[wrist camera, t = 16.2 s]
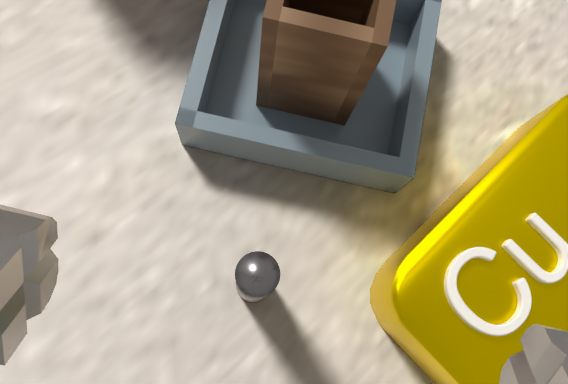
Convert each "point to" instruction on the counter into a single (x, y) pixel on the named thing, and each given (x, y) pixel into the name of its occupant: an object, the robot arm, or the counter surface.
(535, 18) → the counter surface
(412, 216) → the counter surface
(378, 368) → the counter surface
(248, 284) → the metal post
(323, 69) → the walnut tube
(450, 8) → the counter surface
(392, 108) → the slate tray
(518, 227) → the element tile
